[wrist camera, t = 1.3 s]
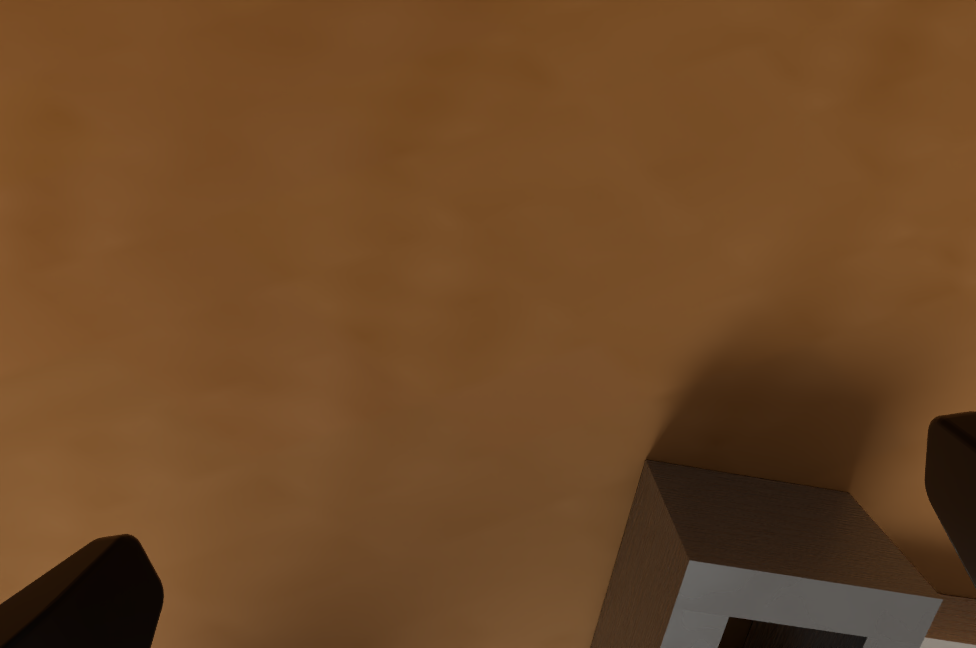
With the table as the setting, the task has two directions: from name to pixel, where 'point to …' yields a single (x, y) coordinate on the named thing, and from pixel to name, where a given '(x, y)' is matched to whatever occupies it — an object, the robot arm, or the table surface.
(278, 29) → the table surface
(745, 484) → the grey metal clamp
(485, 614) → the table surface
